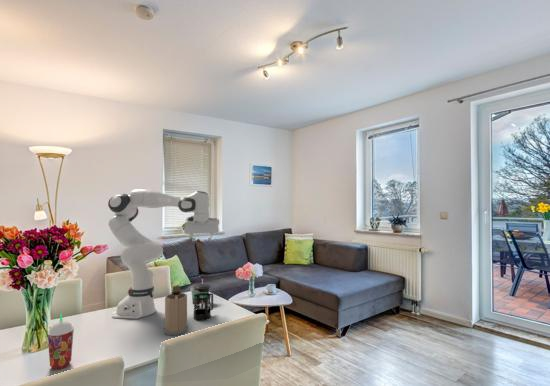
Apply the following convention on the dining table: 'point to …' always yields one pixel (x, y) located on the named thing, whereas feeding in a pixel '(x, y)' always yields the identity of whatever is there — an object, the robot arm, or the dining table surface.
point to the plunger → (176, 290)
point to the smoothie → (60, 343)
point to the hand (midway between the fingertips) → (201, 241)
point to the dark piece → (197, 293)
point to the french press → (202, 308)
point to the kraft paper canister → (175, 315)
